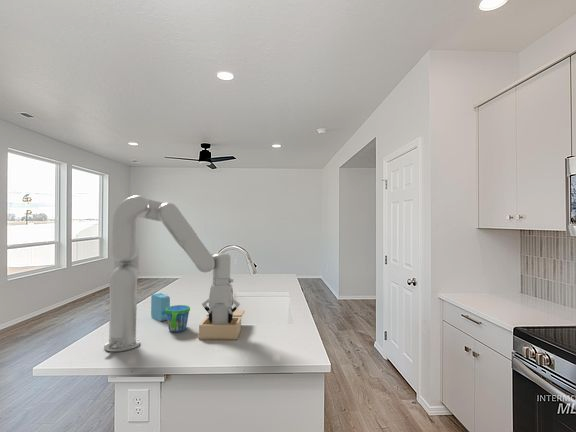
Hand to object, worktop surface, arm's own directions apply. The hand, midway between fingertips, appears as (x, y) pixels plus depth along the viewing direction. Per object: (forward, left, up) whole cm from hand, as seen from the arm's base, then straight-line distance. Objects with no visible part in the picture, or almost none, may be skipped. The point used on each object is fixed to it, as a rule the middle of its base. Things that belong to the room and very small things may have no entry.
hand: (220, 321), depth 143 cm
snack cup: (+6, +21, -6) cm, 23 cm away
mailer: (0, 0, -6) cm, 6 cm away
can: (0, 0, -4) cm, 4 cm away
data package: (+24, +36, -6) cm, 44 cm away
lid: (+13, 0, +1) cm, 13 cm away
